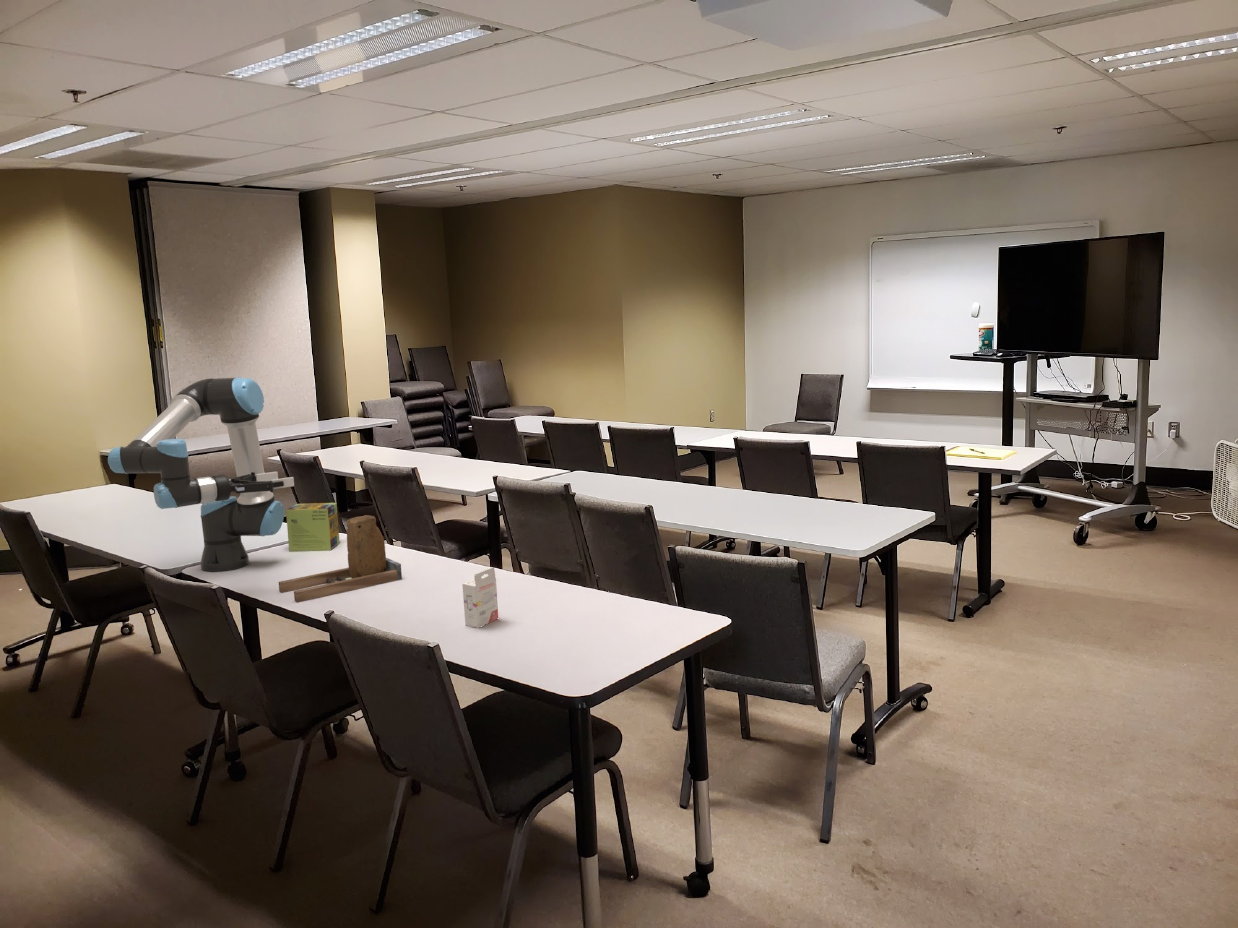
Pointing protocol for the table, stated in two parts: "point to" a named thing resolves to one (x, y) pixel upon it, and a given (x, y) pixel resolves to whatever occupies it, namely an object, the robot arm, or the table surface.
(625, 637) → the table surface
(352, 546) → the block
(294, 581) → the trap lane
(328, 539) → the protein box
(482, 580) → the ink cartridge box
